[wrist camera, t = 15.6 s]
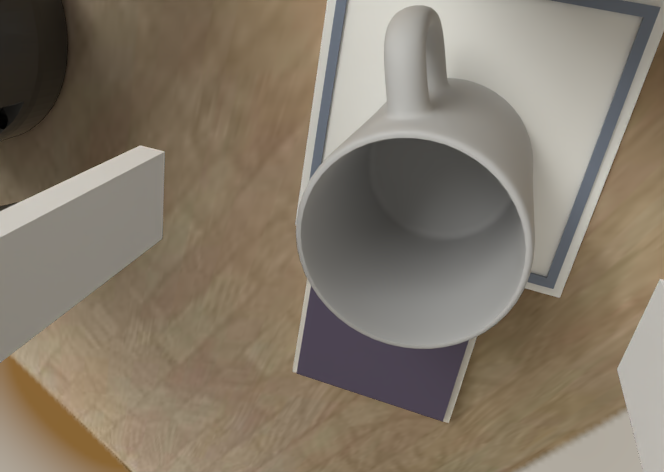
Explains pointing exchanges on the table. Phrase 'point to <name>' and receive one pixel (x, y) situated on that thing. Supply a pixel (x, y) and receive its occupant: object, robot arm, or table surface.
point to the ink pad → (378, 363)
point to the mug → (422, 203)
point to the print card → (509, 92)
